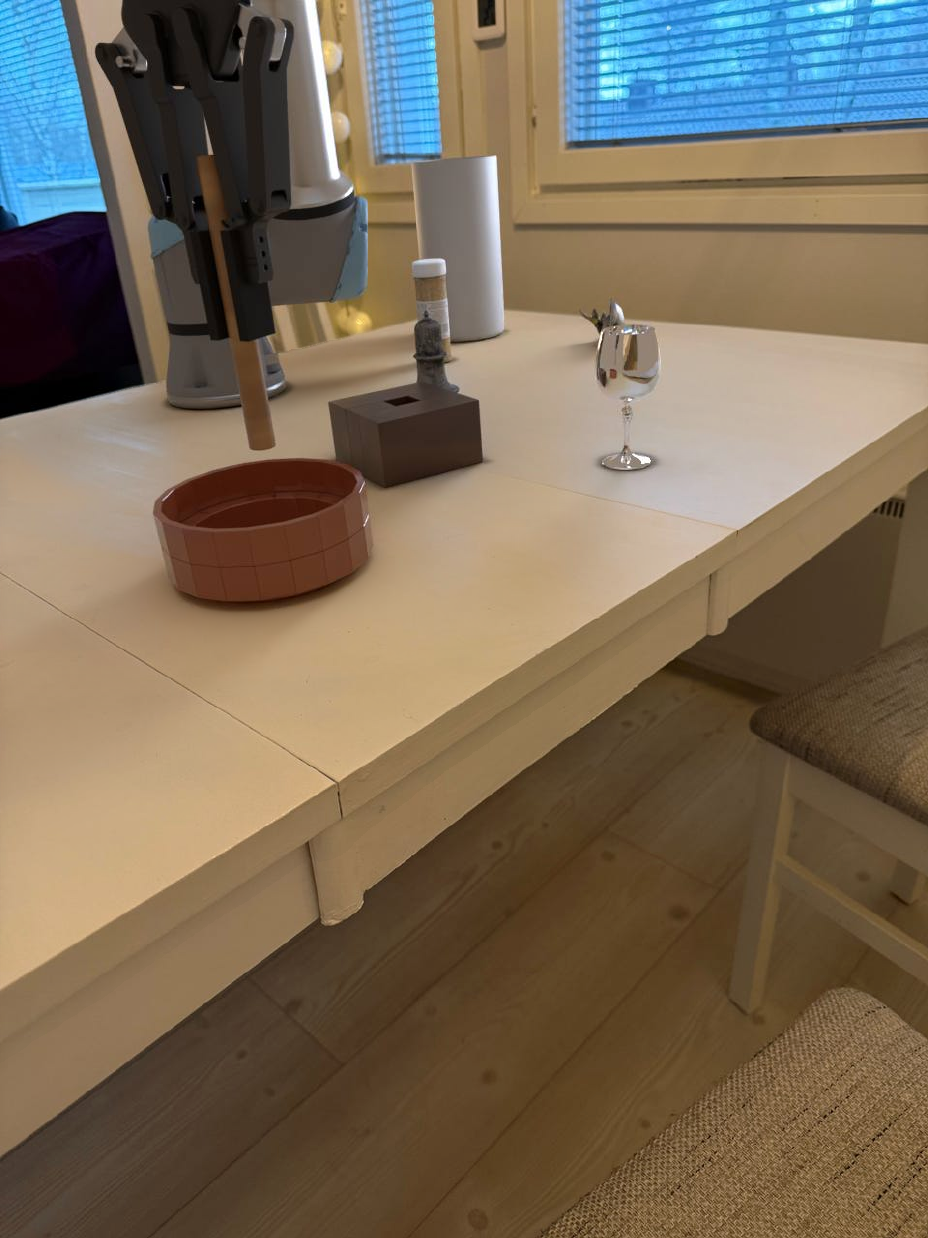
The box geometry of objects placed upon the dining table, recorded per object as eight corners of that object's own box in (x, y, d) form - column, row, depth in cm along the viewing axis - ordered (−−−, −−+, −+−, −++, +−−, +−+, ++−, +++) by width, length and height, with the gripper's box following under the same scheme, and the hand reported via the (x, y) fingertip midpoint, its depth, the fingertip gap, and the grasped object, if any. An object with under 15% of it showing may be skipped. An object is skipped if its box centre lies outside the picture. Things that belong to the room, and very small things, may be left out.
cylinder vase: (481, 344, 137) (470, 158, 126) (411, 341, 143) (394, 163, 132) (518, 327, 147) (511, 153, 135) (451, 325, 153) (438, 158, 141)
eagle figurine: (567, 336, 132) (600, 333, 124) (586, 289, 132) (620, 283, 124) (608, 359, 136) (642, 357, 128) (627, 313, 135) (662, 309, 127)
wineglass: (619, 476, 82) (620, 339, 76) (582, 460, 86) (581, 329, 81) (670, 463, 84) (675, 328, 78) (632, 448, 88) (634, 320, 83)
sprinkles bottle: (449, 356, 132) (441, 256, 125) (455, 362, 128) (448, 259, 121) (417, 359, 131) (408, 259, 125) (423, 366, 127) (414, 263, 121)
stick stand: (336, 460, 92) (327, 401, 89) (428, 438, 96) (422, 381, 94) (385, 487, 84) (377, 423, 81) (483, 461, 88) (479, 399, 85)
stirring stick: (245, 446, 63) (191, 156, 55) (270, 441, 64) (220, 153, 56) (255, 452, 62) (200, 155, 54) (279, 446, 63) (230, 152, 54)
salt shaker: (455, 429, 98) (447, 314, 93) (403, 430, 100) (391, 316, 94) (466, 414, 104) (458, 303, 98) (416, 415, 105) (406, 306, 99)
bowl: (148, 561, 72) (130, 489, 69) (324, 513, 79) (313, 445, 76) (208, 633, 61) (189, 550, 58) (408, 570, 67) (400, 492, 64)
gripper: (11, -103, 49) (118, 345, 60) (221, -164, 42) (299, 352, 53) (117, -82, 55) (197, 323, 66) (316, -133, 48) (369, 327, 59)
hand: (243, 335), depth 60 cm, fingers closed on stirring stick, 2 cm apart
